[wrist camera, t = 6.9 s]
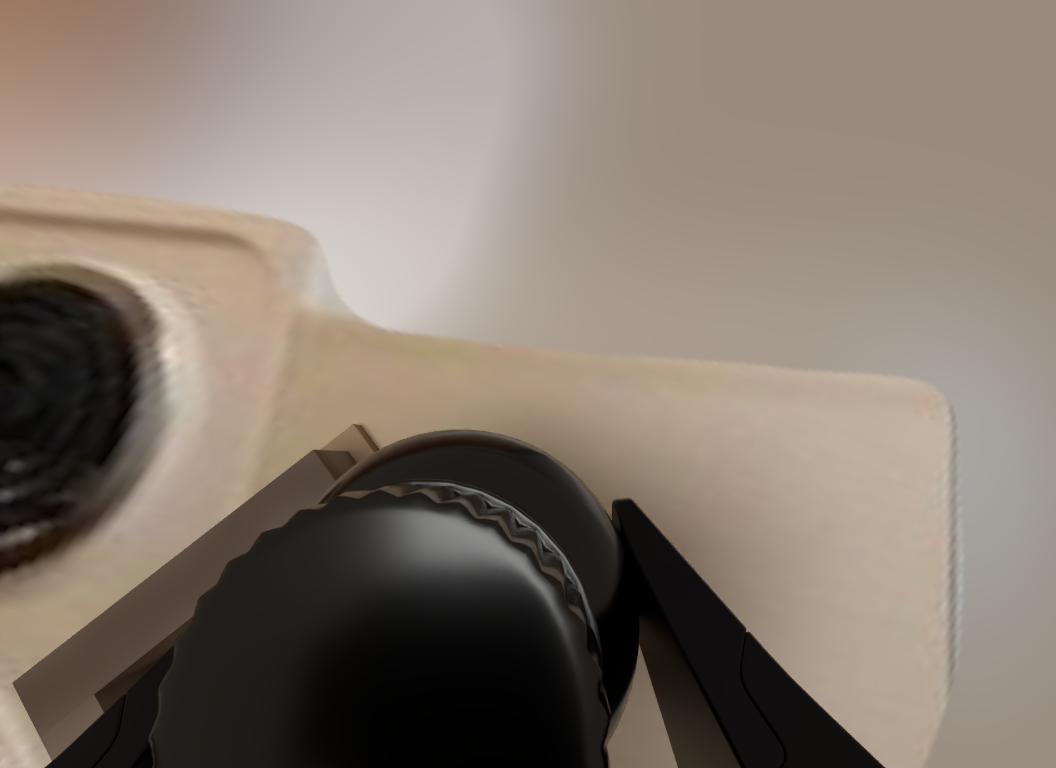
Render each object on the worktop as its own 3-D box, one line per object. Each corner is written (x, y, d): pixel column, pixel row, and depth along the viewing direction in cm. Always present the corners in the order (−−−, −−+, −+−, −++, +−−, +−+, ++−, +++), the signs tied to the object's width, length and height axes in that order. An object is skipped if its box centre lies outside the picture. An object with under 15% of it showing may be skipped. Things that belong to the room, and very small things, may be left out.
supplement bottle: (633, 540, 16) (886, 763, 4) (500, 685, 15) (336, 1463, 3) (501, 409, 17) (398, 284, 5) (372, 538, 16) (-91, 737, 4)
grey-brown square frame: (560, 698, 21) (565, 761, 17) (269, 954, 20) (190, 1099, 15) (360, 425, 24) (319, 417, 19) (91, 634, 22) (-20, 677, 18)
